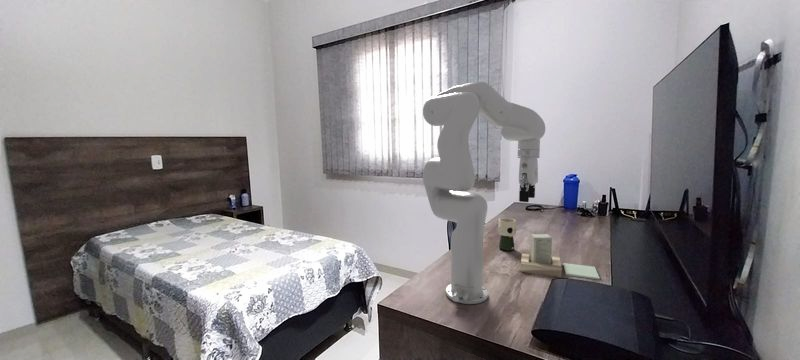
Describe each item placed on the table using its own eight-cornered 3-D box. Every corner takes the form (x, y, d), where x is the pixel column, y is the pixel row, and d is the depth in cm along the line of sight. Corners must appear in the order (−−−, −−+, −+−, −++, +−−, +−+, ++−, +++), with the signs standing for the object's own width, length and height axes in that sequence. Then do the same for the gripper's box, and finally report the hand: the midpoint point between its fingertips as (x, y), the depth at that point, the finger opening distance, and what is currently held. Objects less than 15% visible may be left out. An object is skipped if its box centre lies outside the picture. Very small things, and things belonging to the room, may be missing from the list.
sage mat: (599, 279, 103) (599, 277, 103) (565, 275, 107) (565, 273, 107) (594, 268, 112) (594, 266, 112) (563, 264, 116) (563, 262, 116)
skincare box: (546, 265, 116) (548, 233, 114) (551, 270, 112) (552, 237, 110) (529, 265, 117) (530, 233, 115) (533, 269, 112) (534, 237, 111)
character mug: (504, 254, 128) (505, 223, 126) (491, 249, 134) (491, 220, 132) (521, 249, 134) (522, 219, 132) (508, 244, 140) (509, 216, 138)
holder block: (561, 277, 106) (561, 268, 105) (520, 271, 111) (520, 263, 110) (558, 263, 117) (559, 255, 117) (521, 258, 123) (522, 251, 122)
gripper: (534, 155, 106) (532, 204, 108) (544, 153, 120) (542, 196, 122) (511, 155, 110) (510, 202, 112) (523, 153, 124) (522, 195, 126)
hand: (527, 199), depth 117 cm, fingers open, 9 cm apart
